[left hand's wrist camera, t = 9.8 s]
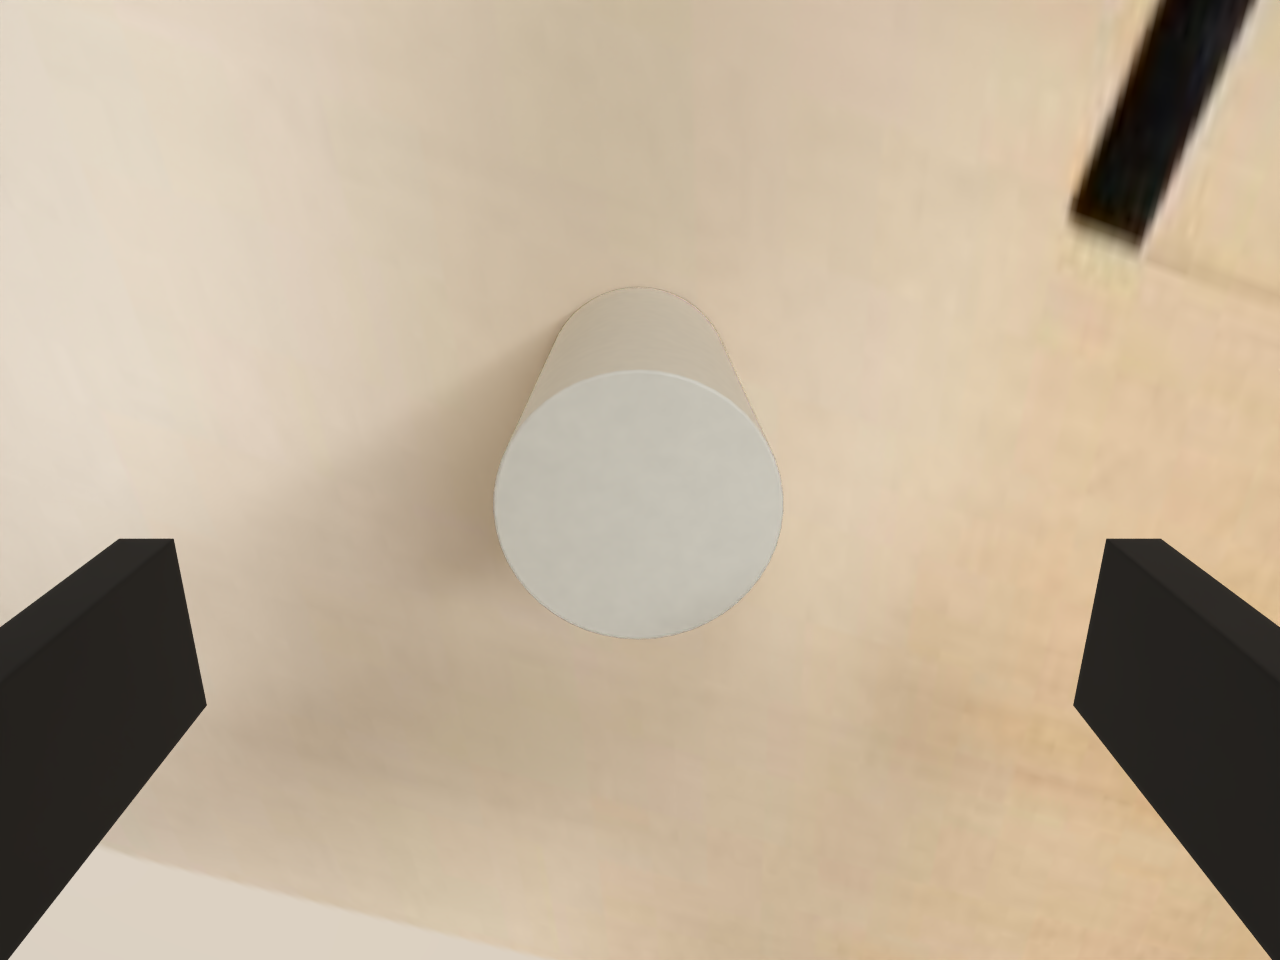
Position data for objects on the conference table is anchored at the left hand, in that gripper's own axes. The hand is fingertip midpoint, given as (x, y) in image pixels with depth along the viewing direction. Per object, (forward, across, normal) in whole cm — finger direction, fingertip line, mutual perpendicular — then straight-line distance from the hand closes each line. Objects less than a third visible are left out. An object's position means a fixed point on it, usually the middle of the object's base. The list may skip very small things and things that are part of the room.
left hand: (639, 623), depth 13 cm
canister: (+16, 0, 0) cm, 16 cm away
